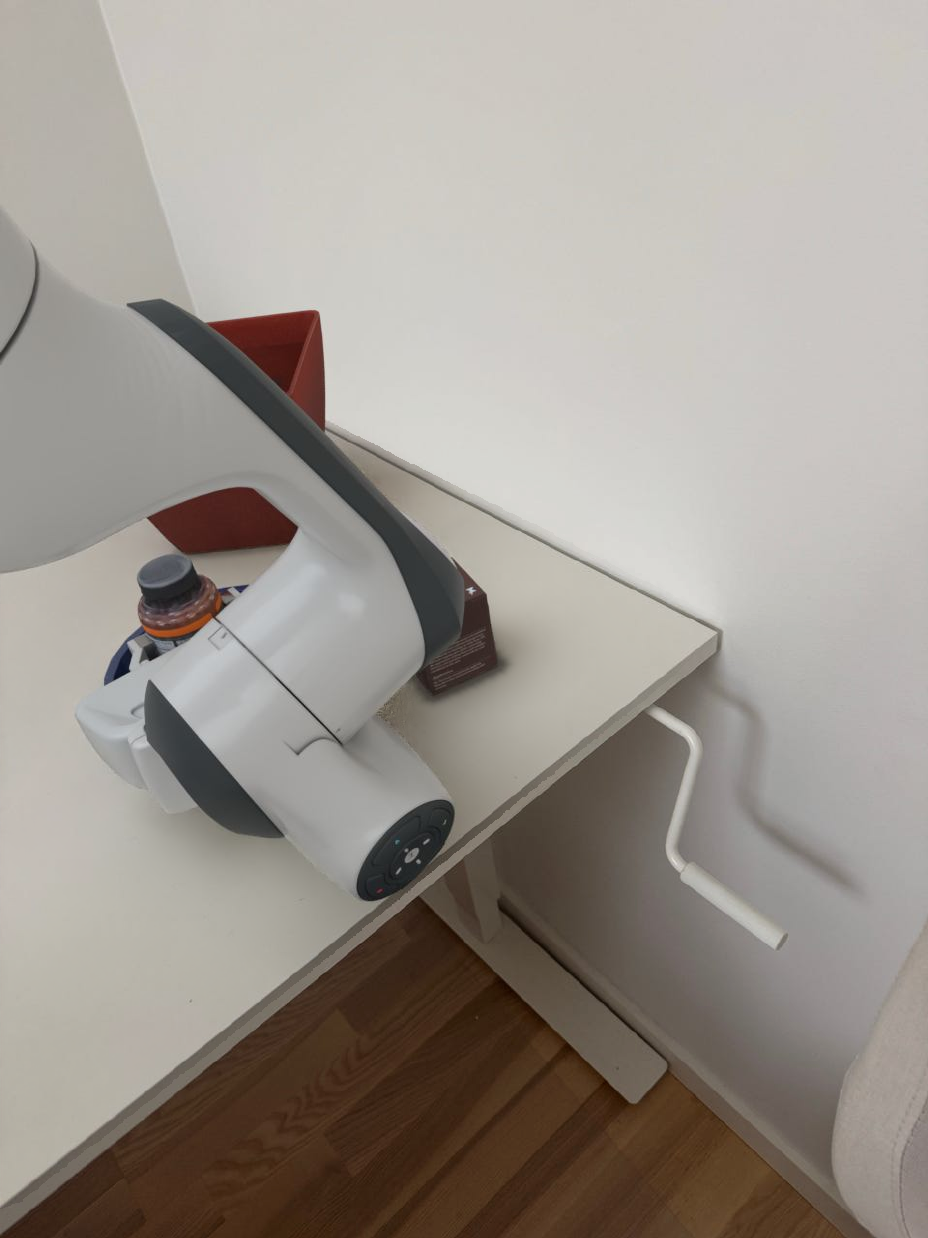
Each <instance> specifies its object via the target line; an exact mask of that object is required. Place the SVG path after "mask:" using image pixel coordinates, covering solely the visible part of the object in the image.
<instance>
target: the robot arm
mask: <svg viewBox="0 0 928 1238" xmlns="http://www.w3.org/2000/svg"><path fill="white" fill-rule="evenodd" d="M234 487H248V488H253V489H254V490H255V491H257V492H258V493H259V494H260V495H261V496H263V497H264V498H265V499H266V500H267V501H268V502H270V503H271V504H272V505H273V506H274V507H276V508H277V509H278V510H279V511H280V512H281V513H283V514H284V515H285V516H286V517H287V518H289V519H290V520H291V521H292V522H293V523H294V524H296V525H297V526H298V530H297V532H296V534H295V536H294V538H293V539H292V541H291V542H290V543H288V545H287V547H286V548H285V549H284V551H283V552H282V553H281V554H280V555H279V556H278V557H277V558H276V559H275V560H274V561H273V562H272V563H271V564H270V565H269V566H268V567H267V568H266V569H264V570H263V571H262V572H261V573H260V574H259V575H258V576H257V577H256V578H255V579H254V580H253V581H252V582H250V583H249V584H250V585H249V584H248V585H249V586H248V587H247V588H246V589H245V590H244V591H242V592H241V593H239V592H238V591H237V590H236V589H235V588H234V587H233V586H231V587H232V588H230V589H228V590H227V591H225V592H223V593H221V594H220V596H221V599H222V601H223V603H224V606H225V608H224V609H223V610H222V611H221V612H220V613H219V614H218V615H217V616H216V617H215V618H216V619H217V620H218V621H219V622H220V623H221V624H219V623H218V622H217V621H216V620H215V619H214V618H212V619H211V620H210V621H209V622H208V623H207V624H206V625H205V626H204V627H202V628H201V629H200V630H199V631H198V632H197V633H196V634H195V635H194V636H193V637H192V638H191V639H190V640H189V641H187V642H185V643H183V644H182V645H180V646H178V647H176V648H174V649H172V650H170V651H169V652H167V653H165V654H163V655H161V656H160V655H159V653H158V652H157V651H156V647H155V644H154V642H153V641H152V640H151V639H150V638H148V636H147V635H146V633H145V634H143V635H140V636H138V637H136V638H134V639H132V640H131V641H129V642H127V645H128V647H129V649H130V651H131V653H132V659H131V663H130V666H129V669H130V672H129V673H128V674H126V675H124V676H122V677H120V678H118V679H116V680H115V681H113V682H111V683H109V684H107V685H105V686H104V685H103V686H102V687H100V688H98V689H96V690H94V691H91V692H90V693H88V694H86V695H85V696H82V697H81V698H80V700H79V701H78V703H77V705H76V708H75V709H74V713H73V714H74V717H75V719H76V722H77V723H78V726H79V727H80V729H81V730H82V732H83V734H84V735H85V737H86V739H87V741H88V742H89V744H90V746H91V747H92V748H93V750H94V751H95V752H96V754H97V755H98V756H99V757H100V759H101V760H102V761H103V762H104V763H105V764H106V765H107V766H108V767H109V768H110V769H111V770H112V771H113V772H114V773H115V774H116V775H117V776H119V777H120V779H122V780H123V781H124V782H126V783H127V784H129V785H130V786H132V787H135V788H137V789H142V790H149V792H150V794H151V796H152V797H153V798H154V799H155V801H156V802H157V804H158V805H159V806H160V807H161V809H162V810H163V811H164V812H165V813H166V814H169V815H177V814H181V813H184V812H187V811H191V810H193V809H197V808H200V809H201V810H202V811H203V812H204V814H206V815H207V816H208V817H209V818H211V820H213V821H214V822H215V823H217V824H218V825H220V826H221V827H222V828H224V829H226V830H228V831H230V832H231V833H234V834H237V835H241V836H248V837H256V838H264V839H281V838H282V839H283V838H285V839H286V840H287V841H288V842H289V843H290V844H291V845H292V846H293V847H294V848H295V849H296V850H297V851H298V852H299V853H300V854H301V855H302V856H303V857H304V858H305V859H306V860H307V861H308V862H309V863H310V864H312V865H313V867H315V868H316V870H318V871H319V872H320V873H321V874H323V875H324V876H325V877H326V878H328V879H329V880H330V881H331V882H332V883H333V884H335V885H336V886H337V887H338V888H340V889H341V890H343V891H344V892H345V893H346V894H348V895H349V896H351V897H352V898H354V899H356V900H358V901H361V902H366V903H369V902H370V903H371V902H377V901H380V900H381V901H382V900H383V899H386V898H389V897H390V896H392V895H394V894H396V893H398V892H399V891H401V890H404V889H405V888H406V887H407V886H408V885H409V884H410V883H412V882H413V881H414V880H415V879H416V878H417V877H418V876H419V874H421V873H422V872H423V871H424V870H425V869H426V868H427V867H428V865H429V864H431V862H432V861H433V860H434V859H435V858H436V856H437V855H438V854H439V853H440V852H441V850H443V848H444V846H445V845H446V841H447V840H448V837H449V836H450V834H451V831H452V828H453V826H454V822H455V817H456V808H455V806H456V805H455V802H454V800H453V799H452V796H450V793H449V792H448V791H447V789H446V787H444V785H443V783H442V782H441V781H440V780H439V778H438V777H437V776H436V774H435V773H434V772H433V771H432V770H431V768H430V767H429V765H427V763H426V762H425V761H424V760H423V759H422V757H421V756H420V755H419V754H418V752H416V750H414V749H413V747H412V746H411V745H410V744H409V743H408V742H407V741H406V740H405V739H404V738H403V737H402V736H401V735H400V734H399V733H398V732H397V731H396V730H395V729H394V728H393V727H392V726H391V725H389V724H388V723H387V722H386V721H385V720H384V719H383V718H382V717H381V716H379V715H378V714H377V713H378V712H379V711H380V710H381V709H382V707H383V706H385V704H386V703H388V702H389V701H390V700H391V698H393V696H394V695H396V694H397V692H398V691H399V690H400V689H402V687H404V686H405V684H406V683H407V682H408V681H409V680H411V678H412V677H413V676H414V675H415V676H416V674H417V673H419V672H421V671H422V670H423V669H424V668H425V667H426V666H427V665H429V664H430V663H431V662H432V661H433V660H434V659H436V658H437V657H438V656H439V655H440V654H441V653H443V652H444V651H445V650H446V649H447V648H448V647H450V646H451V645H452V644H453V643H454V642H455V641H457V640H458V639H459V638H460V635H461V629H462V623H463V614H464V579H463V577H462V575H461V574H460V572H459V571H458V570H457V567H456V565H455V563H454V562H453V560H452V558H451V557H452V556H451V555H450V554H449V552H448V551H447V550H446V548H445V547H444V546H443V545H442V543H440V541H439V540H438V539H437V537H435V536H434V535H433V534H432V533H431V532H430V531H429V530H428V529H427V528H426V527H424V526H423V525H422V524H420V523H419V522H418V521H417V520H415V519H414V518H413V517H412V516H409V514H407V513H406V512H404V511H402V509H399V508H397V507H396V506H395V504H393V503H392V502H391V500H389V499H388V498H387V497H386V496H385V494H383V492H382V491H381V490H380V489H378V488H377V486H376V485H375V484H374V483H373V482H372V481H371V480H370V479H369V478H368V477H367V475H365V473H364V472H363V471H362V470H361V469H360V468H359V467H358V466H357V465H356V464H355V463H354V462H353V461H352V460H351V459H350V458H349V457H348V456H347V455H346V454H345V453H344V452H343V450H342V449H341V448H339V446H338V445H337V444H336V443H335V442H334V440H332V439H331V438H330V437H329V436H328V435H327V434H326V432H325V433H324V432H323V431H322V430H321V429H320V428H319V426H318V425H317V424H316V423H315V422H314V421H313V420H312V419H311V418H310V417H309V416H308V415H307V414H306V413H305V412H304V411H303V410H302V409H301V408H300V407H299V406H298V405H297V404H296V403H295V402H294V401H293V400H292V399H291V398H290V397H289V396H288V395H287V394H286V393H285V392H284V391H283V390H282V389H281V388H280V387H279V386H278V385H277V384H276V383H275V382H274V381H273V380H271V379H270V378H269V377H268V376H267V375H266V374H265V373H264V372H263V371H262V370H261V369H260V368H259V367H258V366H257V365H256V364H255V363H254V362H253V361H252V360H250V359H249V358H248V357H247V356H246V355H245V354H244V353H243V352H242V351H241V350H239V349H238V348H237V347H236V346H235V345H233V344H232V343H231V342H230V341H229V340H227V339H226V338H225V337H224V336H222V335H221V334H220V333H218V332H217V331H216V330H214V329H213V328H211V327H210V326H209V325H207V324H206V321H205V322H204V320H202V319H200V318H198V317H197V316H196V315H194V314H193V313H191V312H189V311H187V310H185V309H184V308H182V307H180V306H178V305H176V304H174V303H172V302H169V301H167V300H166V299H163V298H154V299H147V300H141V301H134V302H127V303H126V304H125V305H124V304H121V303H118V302H114V301H112V300H111V301H110V300H108V299H105V298H103V297H100V296H98V295H96V294H94V293H91V292H89V291H88V290H86V289H84V288H82V287H80V286H79V285H77V284H76V283H74V282H73V281H71V280H70V279H69V278H67V277H66V276H65V275H64V274H62V273H61V272H60V271H59V270H58V269H57V268H56V267H54V265H52V263H50V261H49V260H48V259H47V258H46V257H45V256H44V255H43V254H42V253H41V252H40V251H39V249H38V248H37V247H36V246H35V245H34V243H33V242H32V241H31V239H30V238H29V237H28V236H27V235H26V234H25V232H24V231H23V230H22V228H20V226H19V225H18V224H17V223H16V221H15V220H14V219H13V217H12V216H11V215H10V214H9V212H8V211H7V210H6V209H5V208H4V207H3V205H2V204H1V203H0V574H1V575H2V574H8V573H15V572H21V571H25V570H30V569H34V568H38V567H42V566H46V565H48V564H51V563H55V562H59V561H60V560H64V559H66V558H68V557H71V556H73V555H76V554H78V553H81V552H83V551H85V550H88V549H89V548H91V547H93V546H95V545H97V544H99V543H100V542H102V541H104V540H106V539H108V538H110V537H112V536H114V535H115V534H118V533H119V532H121V531H123V530H125V529H127V528H130V527H131V526H133V525H135V524H136V523H139V522H140V521H143V520H145V519H147V517H149V516H151V515H153V514H155V513H157V512H160V511H162V510H164V509H167V508H169V507H172V506H174V505H177V504H179V503H182V502H184V501H187V500H190V499H193V498H195V497H198V496H201V495H204V494H208V493H211V492H214V491H218V490H222V489H227V488H234Z"/></svg>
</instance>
